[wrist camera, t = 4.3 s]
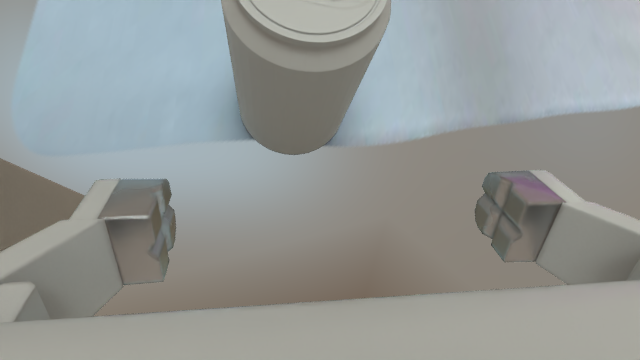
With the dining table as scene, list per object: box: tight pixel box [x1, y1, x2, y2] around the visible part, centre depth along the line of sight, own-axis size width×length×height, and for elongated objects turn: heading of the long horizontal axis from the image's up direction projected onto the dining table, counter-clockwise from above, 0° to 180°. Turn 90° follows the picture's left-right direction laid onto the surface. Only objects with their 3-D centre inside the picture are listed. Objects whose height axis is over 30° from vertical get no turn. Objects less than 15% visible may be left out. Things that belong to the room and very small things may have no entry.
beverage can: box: [221, 0, 391, 155], centre depth 19 cm, size 6×6×12 cm
